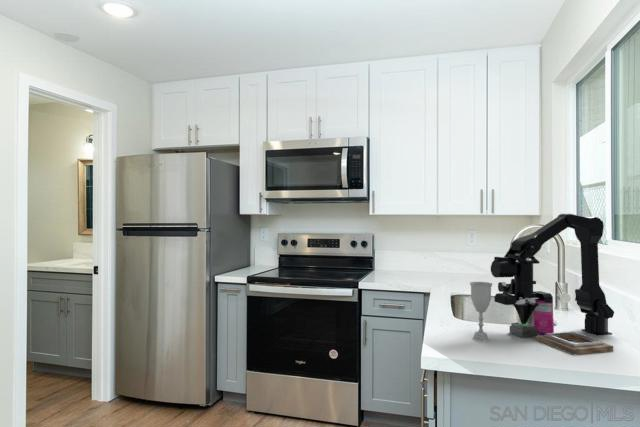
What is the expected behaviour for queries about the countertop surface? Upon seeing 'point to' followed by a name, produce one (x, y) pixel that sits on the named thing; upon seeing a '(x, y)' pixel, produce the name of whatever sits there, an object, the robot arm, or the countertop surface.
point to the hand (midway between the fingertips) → (523, 323)
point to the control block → (523, 330)
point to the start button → (523, 324)
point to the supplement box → (544, 317)
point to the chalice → (481, 305)
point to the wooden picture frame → (584, 347)
